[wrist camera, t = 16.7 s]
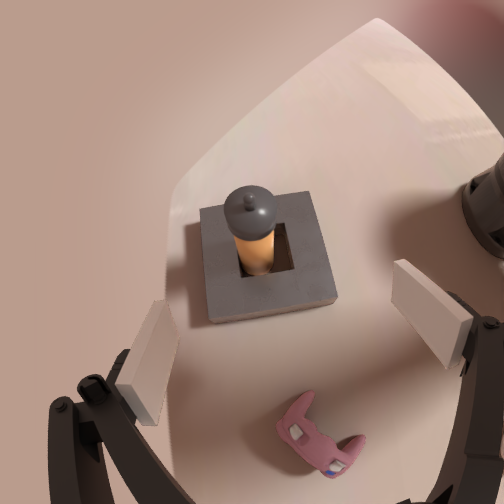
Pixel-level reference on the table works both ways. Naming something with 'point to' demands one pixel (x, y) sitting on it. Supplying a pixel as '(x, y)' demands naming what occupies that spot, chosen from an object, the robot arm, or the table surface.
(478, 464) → the robot arm
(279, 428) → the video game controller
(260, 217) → the orange lidded canister
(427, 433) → the table surface
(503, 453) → the ramekin
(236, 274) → the grey square socket block
